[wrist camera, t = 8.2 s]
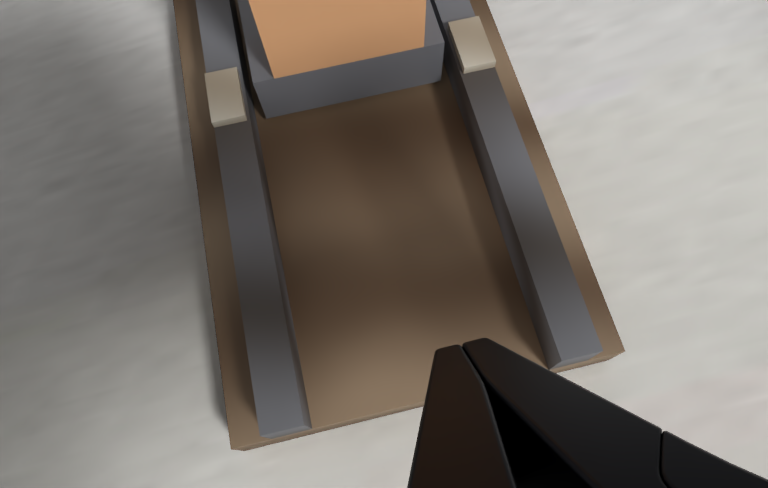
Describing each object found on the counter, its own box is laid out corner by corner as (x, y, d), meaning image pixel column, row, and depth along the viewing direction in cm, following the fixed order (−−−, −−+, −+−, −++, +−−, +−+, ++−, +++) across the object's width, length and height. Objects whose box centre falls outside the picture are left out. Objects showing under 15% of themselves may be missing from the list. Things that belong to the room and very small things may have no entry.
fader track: (608, 360, 19) (648, 338, 16) (244, 450, 18) (211, 447, 15) (455, -40, 25) (462, -110, 22) (185, 16, 24) (153, -49, 21)
